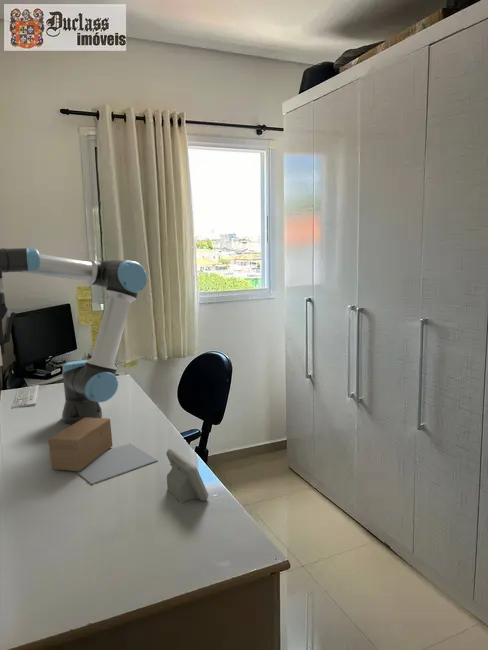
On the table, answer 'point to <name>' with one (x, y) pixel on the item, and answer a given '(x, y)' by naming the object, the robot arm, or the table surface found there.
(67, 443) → the wooden block
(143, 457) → the grey mat
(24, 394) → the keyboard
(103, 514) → the table surface
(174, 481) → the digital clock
